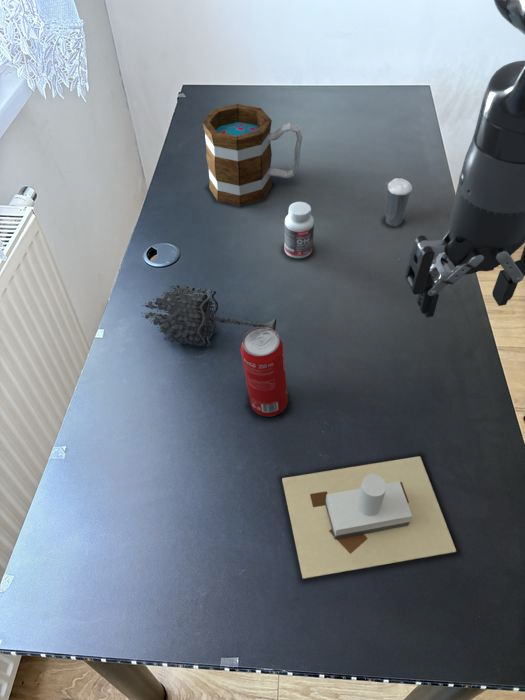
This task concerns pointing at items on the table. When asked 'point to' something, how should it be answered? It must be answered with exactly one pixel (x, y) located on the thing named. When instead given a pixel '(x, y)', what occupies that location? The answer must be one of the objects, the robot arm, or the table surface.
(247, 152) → the mug
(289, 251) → the pill bottle
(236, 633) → the table surface
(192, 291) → the dark grey model tree
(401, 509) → the scrub brush
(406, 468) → the stain mat
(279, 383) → the beverage can
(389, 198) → the milkshake
